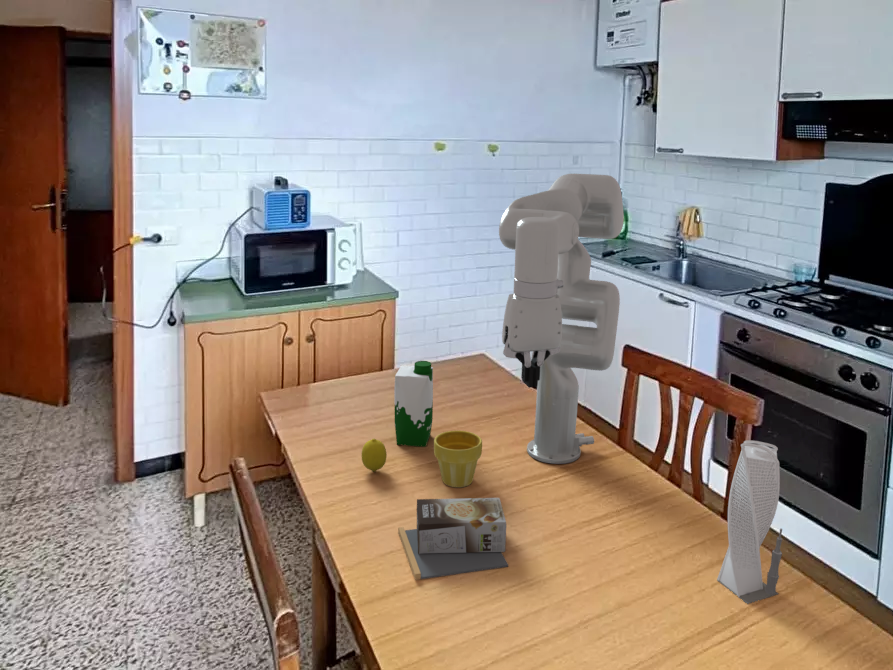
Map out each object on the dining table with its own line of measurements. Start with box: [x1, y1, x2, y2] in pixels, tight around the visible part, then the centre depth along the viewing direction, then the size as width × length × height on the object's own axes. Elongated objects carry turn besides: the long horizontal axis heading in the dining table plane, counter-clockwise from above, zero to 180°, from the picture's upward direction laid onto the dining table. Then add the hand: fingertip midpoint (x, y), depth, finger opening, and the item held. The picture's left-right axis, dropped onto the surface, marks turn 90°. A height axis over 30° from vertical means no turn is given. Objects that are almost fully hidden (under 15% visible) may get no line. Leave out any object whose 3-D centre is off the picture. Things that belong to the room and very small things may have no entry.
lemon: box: [361, 438, 388, 473], centre depth 162 cm, size 6×6×8 cm
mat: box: [397, 526, 509, 581], centre depth 135 cm, size 17×15×1 cm
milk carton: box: [394, 360, 434, 448], centre depth 177 cm, size 9×9×20 cm
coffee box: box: [416, 497, 507, 554], centre depth 137 cm, size 9×6×16 cm
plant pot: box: [433, 430, 483, 488], centre depth 159 cm, size 10×10×10 cm
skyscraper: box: [716, 439, 783, 605], centre depth 122 cm, size 8×8×28 cm
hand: (530, 384), depth 135 cm, fingers closed
